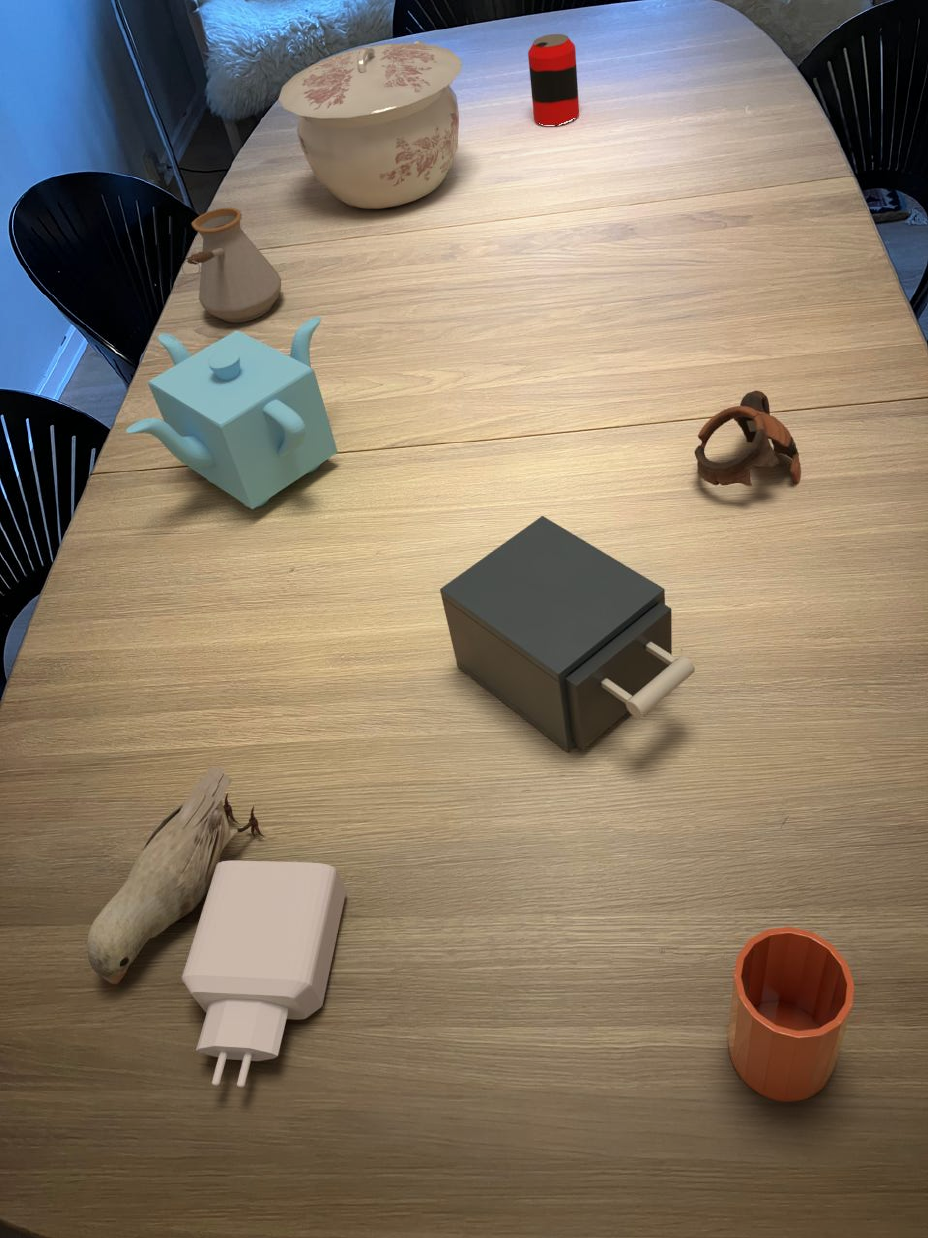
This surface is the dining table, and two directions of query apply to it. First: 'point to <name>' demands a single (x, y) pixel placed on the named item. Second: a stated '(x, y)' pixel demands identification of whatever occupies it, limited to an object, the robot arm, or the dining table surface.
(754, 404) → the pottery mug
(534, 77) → the soda can
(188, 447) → the teakettle
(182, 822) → the decorative bird
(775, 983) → the cup
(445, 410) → the dining table surface
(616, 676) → the drawer
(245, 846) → the dining table surface
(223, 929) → the charger
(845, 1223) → the dining table surface
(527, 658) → the cabinet
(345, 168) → the chamber pot
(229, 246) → the coffee pot
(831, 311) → the dining table surface
